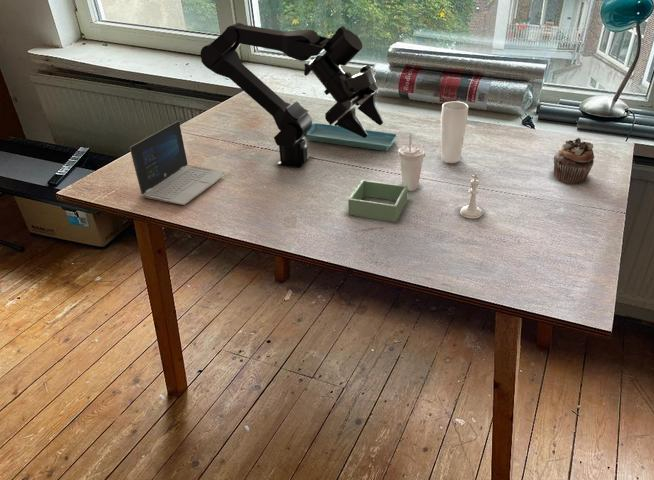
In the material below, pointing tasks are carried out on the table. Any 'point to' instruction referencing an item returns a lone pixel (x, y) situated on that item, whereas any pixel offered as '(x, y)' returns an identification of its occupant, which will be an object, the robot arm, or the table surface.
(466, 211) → the chess piece
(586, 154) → the cupcake
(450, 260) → the table surface
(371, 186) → the green open tray
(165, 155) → the laptop
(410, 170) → the smoothie
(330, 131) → the shallow long dish
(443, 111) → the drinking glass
